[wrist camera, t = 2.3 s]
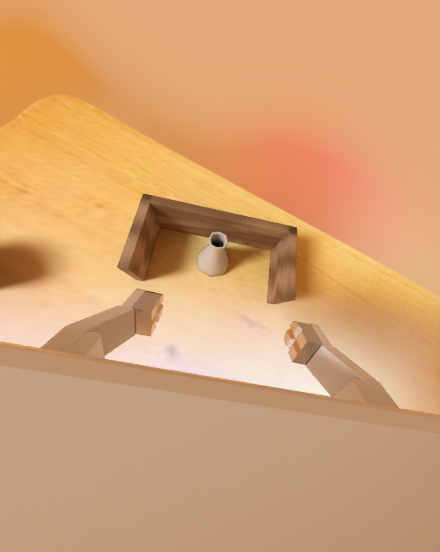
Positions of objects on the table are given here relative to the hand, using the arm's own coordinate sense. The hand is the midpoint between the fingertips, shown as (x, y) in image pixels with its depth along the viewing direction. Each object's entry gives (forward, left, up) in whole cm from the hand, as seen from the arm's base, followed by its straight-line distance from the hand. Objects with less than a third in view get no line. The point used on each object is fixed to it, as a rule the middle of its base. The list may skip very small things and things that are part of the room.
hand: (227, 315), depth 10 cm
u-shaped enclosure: (+12, -4, -24) cm, 27 cm away
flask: (+12, -4, -24) cm, 27 cm away
